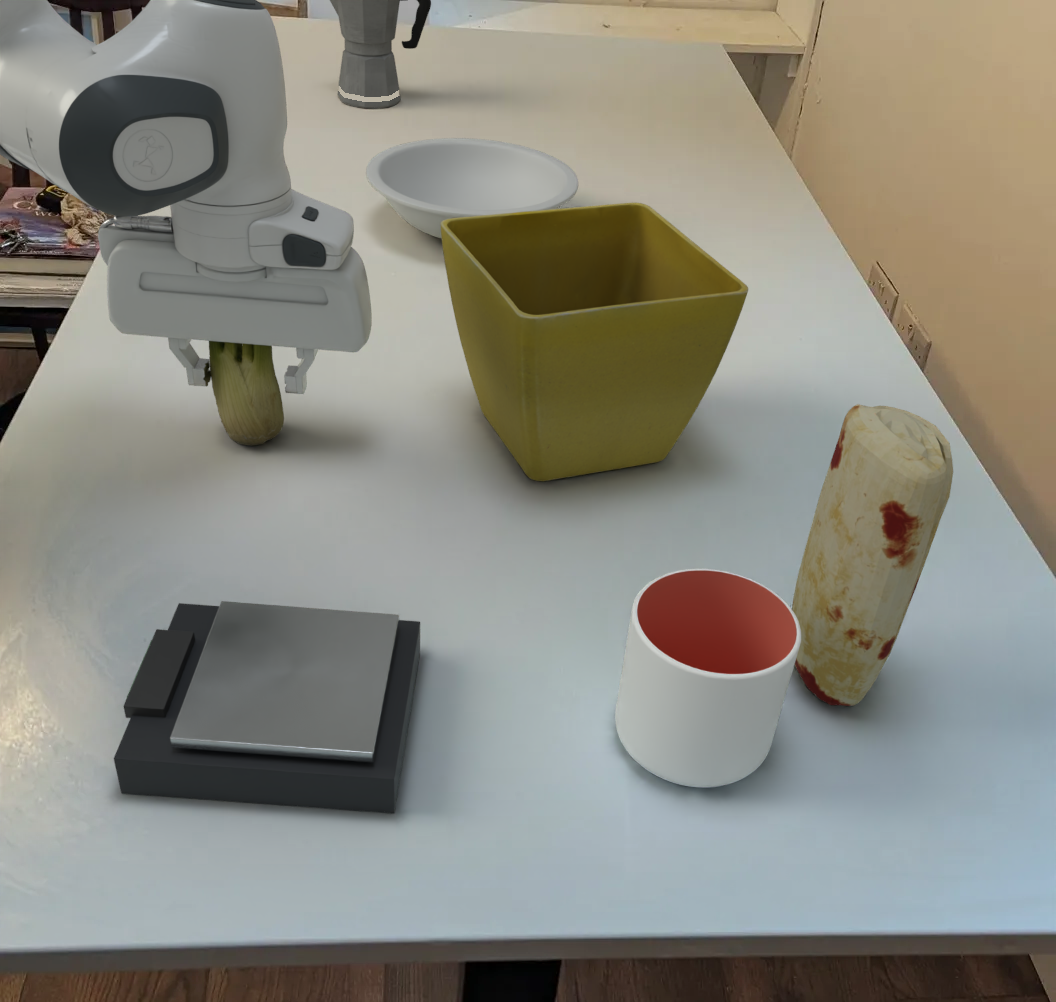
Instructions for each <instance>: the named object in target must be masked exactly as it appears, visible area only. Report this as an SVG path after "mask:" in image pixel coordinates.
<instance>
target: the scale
mask: <svg viewBox="0 0 1056 1002" xmlns="http://www.w3.org/2000/svg"><path fill="white" fill-rule="evenodd" d="M219 606H220V605H207V604H196V603H180V602H178V604H177V606H176V609H175V611H174V614H173V616H172V618H171V621H170V623H169V626H168V628H167V629H160V628H156V629H155V632H154V634H153V636H152V639H151V640H150V641H149V644H148V646H147V649H146V651H145V653H144V656H143V658H142V661H141V663H140V664H139V667H138V669H137V672H136V674H135V677H134V679H133V681H132V684H131V685H130V688H129V690H128V693H127V695H126V699H125V701H124V704H123V705H122V706H123V710H124V711H123V712H124V717H125V718H126V719H129V721H128V723H127V726H126V728H125V730H124V733H123V735H122V737H121V740H120V742H119V745H118V747H117V748H116V749H117V750H116V752H115V754H114V757H113V762H114V766H115V771H116V776H117V780H118V785H119V789H120V794H123V795H136V796H148V797H149V796H152V797H163V798H164V797H165V798H176V799H177V798H178V799H191V800H204V801H205V800H206V801H218V802H233V803H243V804H244V803H245V804H259V805H260V804H261V805H272V806H287V807H300V808H312V809H313V808H315V809H327V810H339V811H340V810H341V811H353V812H368V813H379V814H380V813H382V814H395V813H396V806H397V799H398V793H399V787H400V781H401V776H402V769H403V763H404V757H405V750H406V745H407V737H408V731H409V726H410V718H411V713H412V707H413V700H414V694H415V688H416V683H417V675H418V670H419V663H420V657H421V621H419V620H407V619H404V620H403V619H399V628H398V633H397V638H396V644H395V649H394V654H393V660H392V665H391V670H390V676H389V681H388V686H387V692H386V697H385V703H384V708H383V713H382V719H381V724H380V729H379V735H378V740H377V745H376V751H375V756H374V761H373V762H360V761H347V760H333V759H320V758H306V757H293V756H279V755H266V754H252V753H239V752H226V751H212V750H199V749H185V748H172V747H171V742H170V736H171V734H172V731H173V728H174V726H175V723H176V720H177V718H178V715H179V712H180V710H181V707H182V704H183V702H184V699H185V696H186V694H187V691H188V688H189V686H190V683H191V680H192V678H193V675H194V672H195V670H196V667H197V664H198V662H199V659H200V656H201V654H202V651H203V649H204V646H205V643H206V641H207V638H208V635H209V633H210V630H211V627H212V625H213V622H214V619H215V617H216V614H217V611H218V609H219Z"/></svg>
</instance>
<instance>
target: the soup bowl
mask: <svg viewBox="0 0 1056 1002" xmlns="http://www.w3.org/2000/svg"><path fill="white" fill-rule="evenodd" d="M365 176H366V180H367V182H368V183H369V185H370V186H371V187H372V188H373V189H374V190H375V191H376V192H377V193H378V194H380V195H381V196H383V197H385V199H386V201H387V202H388V204H389V205H390V207H391V208H392V210H394V211H395V213H396V214H398V216H399V217H401V219H402V220H403V221H405V222H407V224H409V225H411V226H412V227H413V228H415V229H417V230H418V231H421V232H423V233H424V234H426V235H428V236H429V235H430V236H432V237H435V238H438V239H441V240H442V237H441V224H440V223H441V222H442V221H443V220H446V219H450V218H459V217H470V216H481V215H492V214H503V213H515V212H525V211H536V210H548V209H559V207H561V206H563V205H564V204H566V203H568V202H569V201H570V200H572V199H573V198H574V196H575V195H576V194H577V192H578V190H579V178H578V175H577V174H576V172H575V171H574V170H573V169H572V168H571V166H570V165H568V164H567V163H565V162H564V161H562V160H560V159H559V158H557V157H555V156H553V155H550V154H548V153H546V152H543V151H541V150H538V149H536V148H535V149H534V148H531V147H529V146H525V145H521V144H516V143H512V142H506V141H502V140H501V141H500V140H492V139H485V138H484V139H483V138H471V137H470V138H469V137H444V138H443V137H442V138H430V139H422V140H421V139H420V140H415V141H410V142H406V143H405V142H404V143H401V144H398V145H394V146H391V147H388V148H387V149H384V150H382V151H380V152H379V153H377V154H376V155H374V156H373V157H372V158H371V159H370V160H369V161H368V163H367V165H366V168H365Z"/></svg>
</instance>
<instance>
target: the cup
mask: <svg viewBox="0 0 1056 1002" xmlns="http://www.w3.org/2000/svg"><path fill="white" fill-rule="evenodd" d="M630 612H631V613H630V618H629V626H628V629H627V630H628V631H627V635H626V636H627V637H626V644H625V648H624V649H625V650H624V655H623V662H622V666H621V667H622V668H621V674H620V678H619V679H620V681H619V686H618V692H617V698H616V705H615V710H614V711H615V712H614V722H615V727H616V728H615V729H616V733H617V735H618V738H619V740H620V742H621V745H622V746H623V748H624V749H625V751H626V752H627V753H628V754H629V756H630V757H631V758H632V759H633V760H634V761H635V762H636V763H637V764H638V765H639V766H640V767H642V768H643V769H645V770H646V771H648V772H649V773H651V774H652V775H654V776H656V777H658V778H660V779H662V780H664V781H667V782H670V783H673V784H676V785H680V786H686V787H692V788H716V787H722V786H728V785H731V784H734V783H737V782H739V781H741V780H743V779H745V778H747V777H748V776H750V775H751V774H752V773H754V772H755V771H756V770H757V769H758V768H759V767H760V766H761V765H762V764H763V762H764V761H765V759H766V758H767V756H768V754H769V753H770V750H771V748H772V744H773V741H774V737H775V733H776V731H777V728H778V727H777V726H778V723H779V720H780V716H781V713H782V709H783V706H784V702H785V700H786V695H787V692H788V689H789V684H790V681H791V678H792V675H793V671H794V667H795V661H796V658H797V654H798V651H799V647H800V643H801V629H800V625H799V622H798V619H797V617H796V615H795V613H794V612H793V610H792V607H791V606H790V605H789V604H788V603H787V602H786V600H785V599H783V598H782V597H781V596H780V595H779V594H778V593H776V592H775V591H774V590H772V589H771V588H770V587H767V586H766V585H764V584H762V583H760V582H758V581H757V580H754V579H752V578H749V577H747V576H745V575H741V574H738V573H735V572H731V571H726V570H722V569H721V570H720V569H712V568H689V569H688V568H687V569H680V570H674V571H671V572H667V573H665V574H662V575H660V576H658V577H656V578H654V579H652V580H651V581H649V582H648V583H647V584H646V585H644V586H643V587H642V588H641V589H640V591H639V592H638V593H637V594H636V596H635V598H634V600H633V603H632V606H631V611H630Z"/></svg>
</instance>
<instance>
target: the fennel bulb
mask: <svg viewBox="0 0 1056 1002" xmlns="http://www.w3.org/2000/svg"><path fill="white" fill-rule="evenodd" d="M208 350H209V351H208V352H209V354H208V355H209V356H208V357H209V358H208V359H209V361H210V363H209V364H210V368H209V370H210V374H211V380H210V381H211V385H212V391H213V395H214V400H215V403H216V407H217V412H218V414H219V418H220V421H221V424H222V426H223V427H224V430H225V432H226V434H227V435H228V437H229V439H230V440H232V441H233V442H235V443H236V444H239V445H244V446H259V445H262V444H264V443H266V442H268V441H270V440H272V439H274V438H275V437H277V435H279V434H280V433H281V432H282V430H283V428H284V421H285V414H284V408H283V407H284V405H283V399H282V393H281V388H280V384H279V381H278V378H277V375H276V370H275V365H274V361H273V346H268V345H255V344H243V343H231V342H218V341H208Z"/></svg>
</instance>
